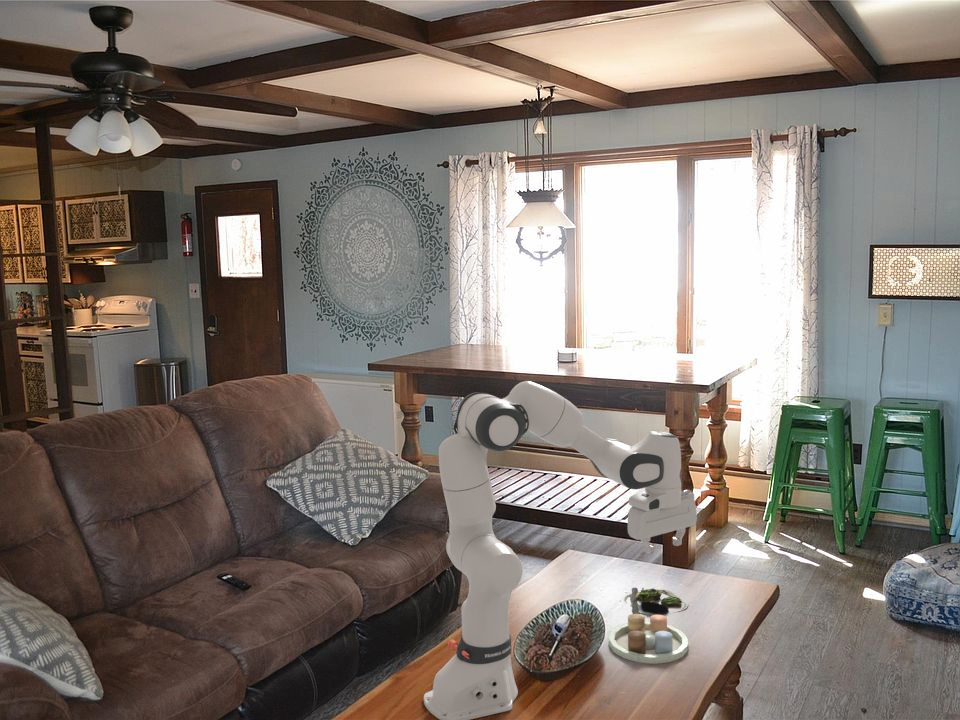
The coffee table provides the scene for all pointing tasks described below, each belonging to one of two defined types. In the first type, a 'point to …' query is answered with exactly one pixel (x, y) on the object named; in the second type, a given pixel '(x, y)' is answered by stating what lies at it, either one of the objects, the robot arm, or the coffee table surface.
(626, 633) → the ring dish
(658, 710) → the coffee table surface
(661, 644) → the slate-blue bead
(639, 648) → the walnut bead
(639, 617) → the honey oak bead
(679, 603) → the salad plate
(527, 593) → the coffee table surface
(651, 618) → the terracotta bead
